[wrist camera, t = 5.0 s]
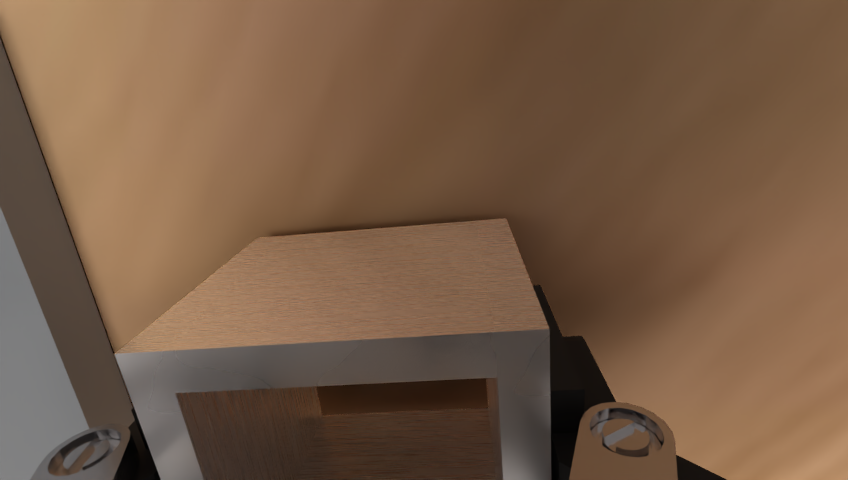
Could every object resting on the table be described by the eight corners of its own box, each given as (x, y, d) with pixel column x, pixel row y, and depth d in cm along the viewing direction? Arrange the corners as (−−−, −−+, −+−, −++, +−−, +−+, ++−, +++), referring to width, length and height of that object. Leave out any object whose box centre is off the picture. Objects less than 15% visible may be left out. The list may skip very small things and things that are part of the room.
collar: (506, 218, 11) (549, 329, 6) (515, 427, 13) (553, 636, 8) (256, 237, 11) (114, 354, 6) (302, 435, 13) (218, 636, 8)
